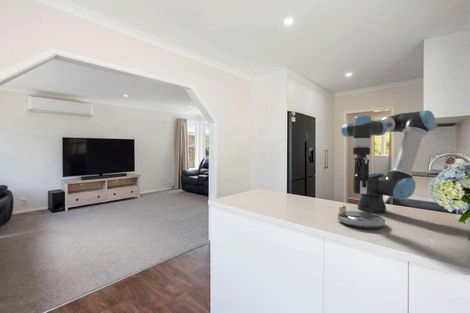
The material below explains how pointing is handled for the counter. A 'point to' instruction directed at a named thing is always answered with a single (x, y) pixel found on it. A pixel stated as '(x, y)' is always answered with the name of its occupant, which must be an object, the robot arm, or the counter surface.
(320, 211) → the counter surface
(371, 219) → the turntable
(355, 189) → the supplement bottle
